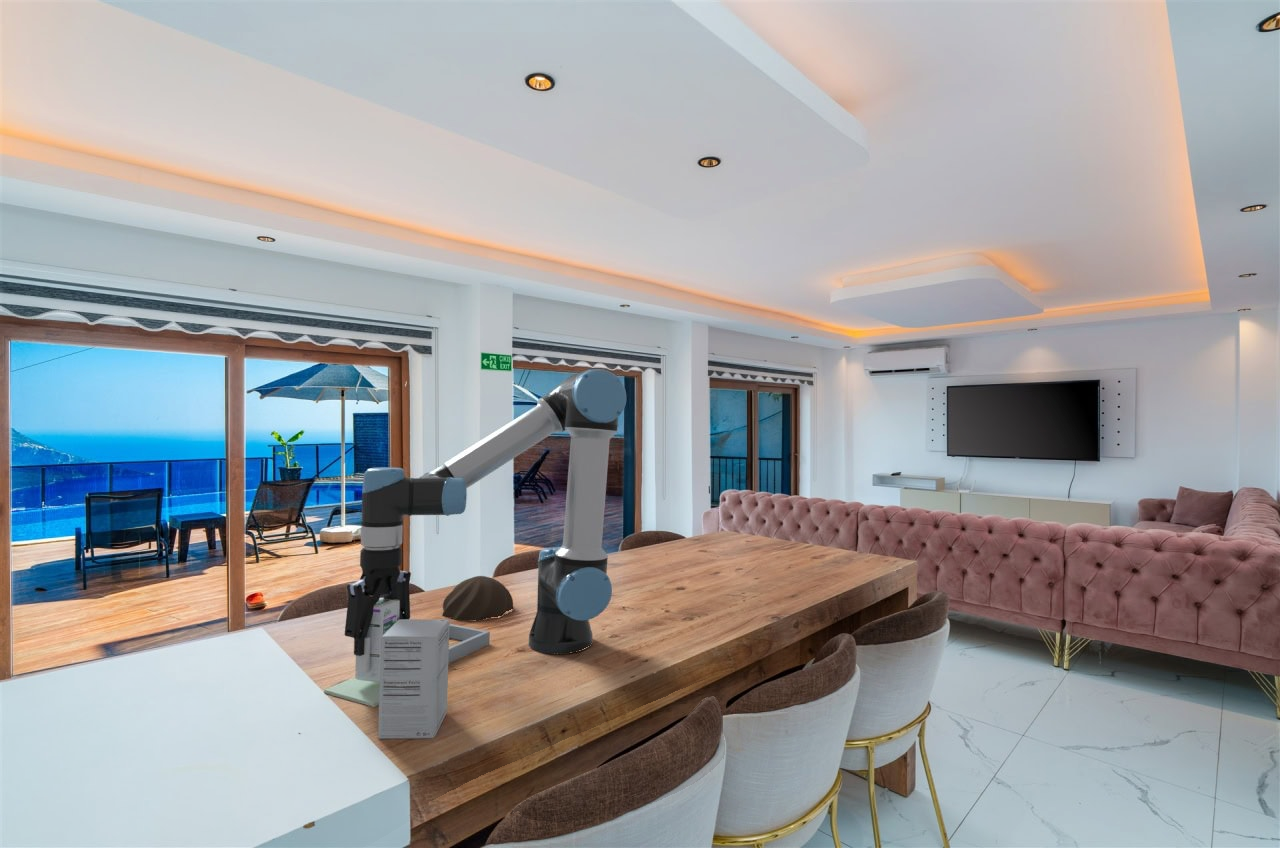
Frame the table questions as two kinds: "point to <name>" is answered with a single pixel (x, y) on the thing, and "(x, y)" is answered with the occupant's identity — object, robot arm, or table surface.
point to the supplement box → (413, 679)
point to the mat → (357, 691)
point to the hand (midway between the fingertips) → (377, 664)
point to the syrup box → (379, 635)
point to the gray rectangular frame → (466, 641)
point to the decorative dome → (477, 599)
